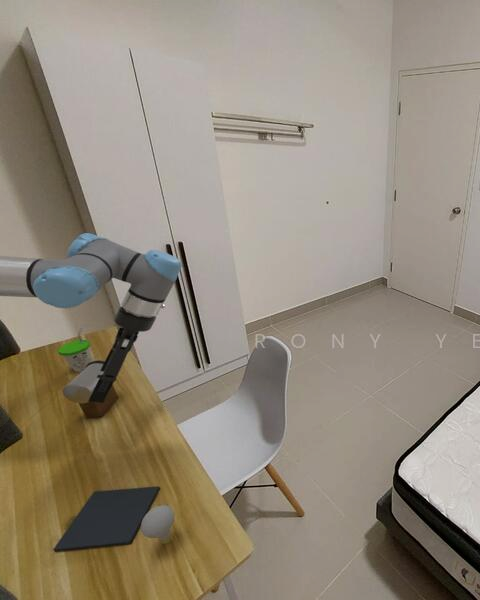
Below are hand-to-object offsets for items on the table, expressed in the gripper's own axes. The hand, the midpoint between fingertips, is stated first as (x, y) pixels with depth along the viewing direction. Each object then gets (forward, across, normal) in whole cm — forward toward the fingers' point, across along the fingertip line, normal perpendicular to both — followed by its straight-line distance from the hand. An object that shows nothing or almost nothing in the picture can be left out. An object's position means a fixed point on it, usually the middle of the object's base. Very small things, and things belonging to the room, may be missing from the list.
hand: (101, 385), depth 81 cm
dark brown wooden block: (+19, +19, -4) cm, 27 cm away
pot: (+10, +18, +2) cm, 20 cm away
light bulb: (+14, -32, -21) cm, 41 cm away
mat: (+18, -21, -12) cm, 30 cm away
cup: (+21, +41, +3) cm, 47 cm away
